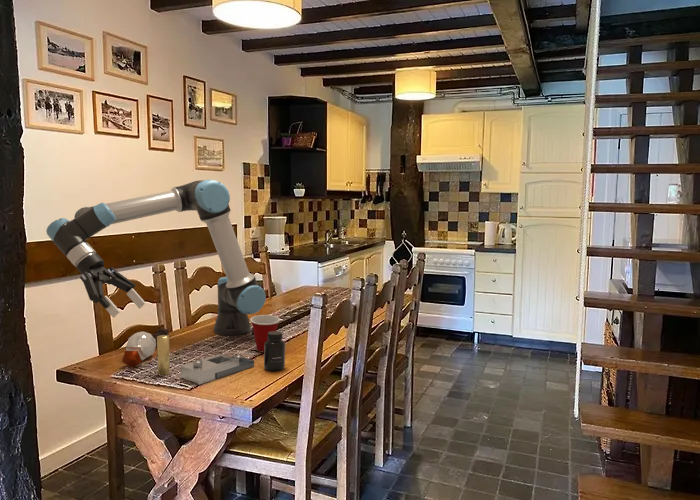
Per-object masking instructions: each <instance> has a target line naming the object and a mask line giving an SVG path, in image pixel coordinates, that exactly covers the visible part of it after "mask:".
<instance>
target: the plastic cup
mask: <svg viewBox="0 0 700 500" xmlns="http://www.w3.org/2000/svg"><path fill="white" fill-rule="evenodd" d="M249 321H250V323H251V326H252V329H253V335H254V341H255V347H256V350H258V352H259V351H263V352H262V353H264V344H265V342H266V341H267V340H268V338H267V337H268V332H271V331H278V330H277V329H278V326H279V322H280V321H281V318H280V317H279V316H275V315H270V314H260V315H254V316H252V317H251V318H249Z"/></svg>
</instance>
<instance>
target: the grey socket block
mask: <svg viewBox="0 0 700 500" xmlns="http://www.w3.org/2000/svg"><path fill="white" fill-rule="evenodd" d="M219 362H221V363H219ZM216 363H219V364H216ZM236 366H239V359H236V358H233V357H232V356H229V355H226V354H222V353H219V354H216V355H213V356H209V357H208V356H207V357H205V358H203V359H196V360H194V361H192V362H187V363H186V364H181V365H180V379H182V378H184V379H187V380H190V381H192V382H195V383H197V384H196V385H198V386H199V385H203V384H206V383H210V382H212V381H215V380H216V379H215V373H217V372H220V371H223V370H227V369H230V368H233V367H236ZM184 379H183V380H184ZM187 380H186V381H187ZM190 381H189V382H190ZM192 382H191V383H192ZM195 383H194V384H195Z"/></svg>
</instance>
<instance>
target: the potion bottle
mask: <svg viewBox="0 0 700 500" xmlns="http://www.w3.org/2000/svg"><path fill="white" fill-rule="evenodd" d="M151 334H152V333H149V332H146V331H138V332H136V333H134V334H132V335H131V336H130V337H128V339H127V343H126V348H125V351H124V354H123V356H122V361H121V362H122V363H124V364H125V365H127V366H129V367H131V368H132V367H133V368H134V367H137V365H139V364H140V363H142V362H143V361H144V360H145V359H147V358H149V357H150V356H151V355H153V354H155V350H156V348H155V347H156V341H155V338H154V337H153V336H152V335H151Z"/></svg>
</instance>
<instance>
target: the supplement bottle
mask: <svg viewBox="0 0 700 500" xmlns="http://www.w3.org/2000/svg"><path fill="white" fill-rule="evenodd" d="M283 337H284V336H283V332H282V331H279V330H276V331H271V332H268V337H267V338H268V340H267V341H266V342H265V344H264V352H263V367H264V370H265V371H267V372H268V371H269V372H280V371H282V370H284V369H285V367H286V342H285V340H283Z"/></svg>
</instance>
